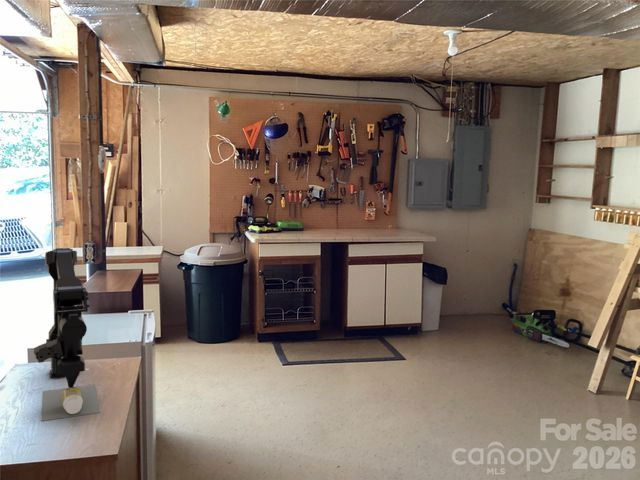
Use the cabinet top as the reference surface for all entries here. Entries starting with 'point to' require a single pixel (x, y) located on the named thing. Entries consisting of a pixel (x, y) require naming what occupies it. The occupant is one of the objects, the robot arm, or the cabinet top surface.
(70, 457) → the cabinet top surface
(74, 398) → the supplement bottle
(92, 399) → the flat gray panel
